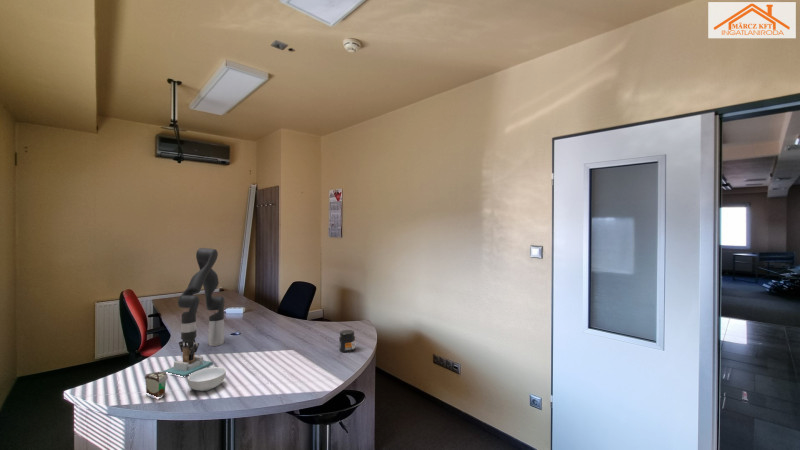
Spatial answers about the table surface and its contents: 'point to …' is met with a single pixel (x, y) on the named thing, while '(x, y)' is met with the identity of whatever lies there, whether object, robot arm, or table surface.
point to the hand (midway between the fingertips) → (188, 359)
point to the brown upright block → (187, 355)
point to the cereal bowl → (206, 378)
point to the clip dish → (205, 364)
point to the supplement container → (347, 341)
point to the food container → (156, 383)
